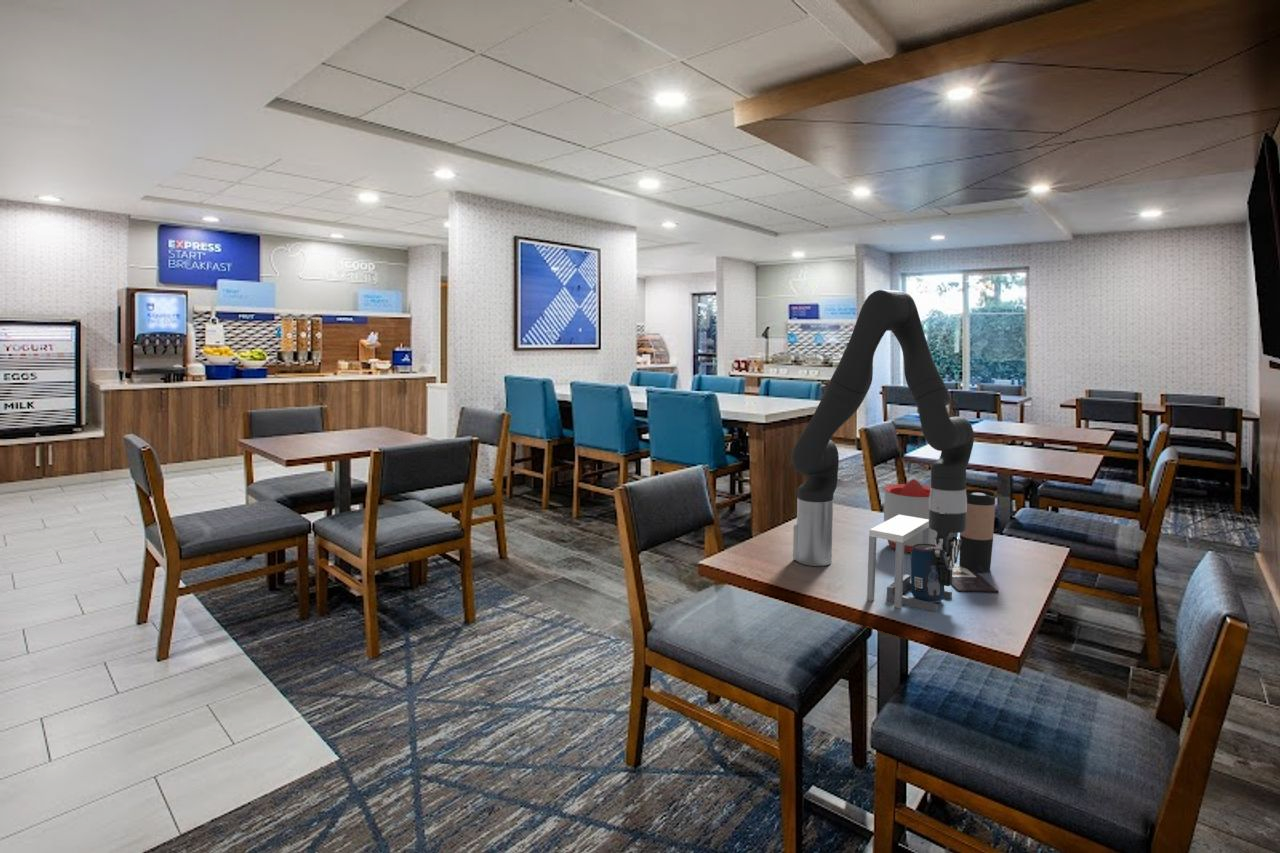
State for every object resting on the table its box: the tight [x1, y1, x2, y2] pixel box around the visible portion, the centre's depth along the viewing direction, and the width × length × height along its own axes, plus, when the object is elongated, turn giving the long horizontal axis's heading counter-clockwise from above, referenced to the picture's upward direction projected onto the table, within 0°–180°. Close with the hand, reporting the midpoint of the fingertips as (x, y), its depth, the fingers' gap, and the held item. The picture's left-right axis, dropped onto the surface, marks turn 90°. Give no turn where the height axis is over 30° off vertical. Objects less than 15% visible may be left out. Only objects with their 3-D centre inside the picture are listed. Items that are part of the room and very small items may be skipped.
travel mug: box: [958, 489, 996, 574], centre depth 170 cm, size 8×8×20 cm
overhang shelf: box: [866, 515, 953, 613], centre depth 151 cm, size 14×17×16 cm
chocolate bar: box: [950, 564, 999, 594], centre depth 163 cm, size 9×1×18 cm
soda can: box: [910, 544, 945, 604], centre depth 150 cm, size 7×7×12 cm
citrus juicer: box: [883, 478, 937, 553], centre depth 187 cm, size 16×17×20 cm
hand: (945, 584), depth 147 cm, fingers closed
